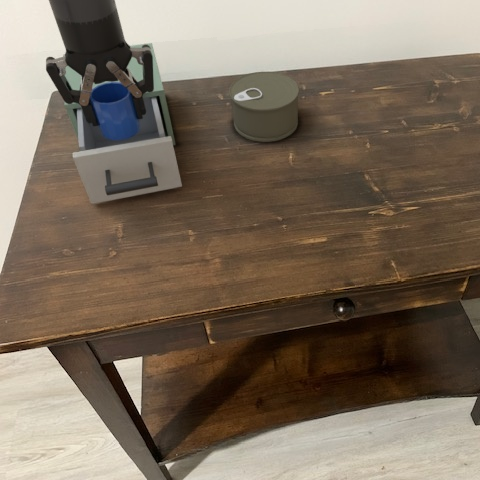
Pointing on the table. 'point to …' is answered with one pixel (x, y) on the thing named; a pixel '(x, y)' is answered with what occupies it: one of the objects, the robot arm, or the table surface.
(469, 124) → the table surface
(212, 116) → the table surface
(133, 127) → the cup
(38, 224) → the table surface
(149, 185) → the drawer
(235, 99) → the can
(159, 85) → the mint green cabinet box
